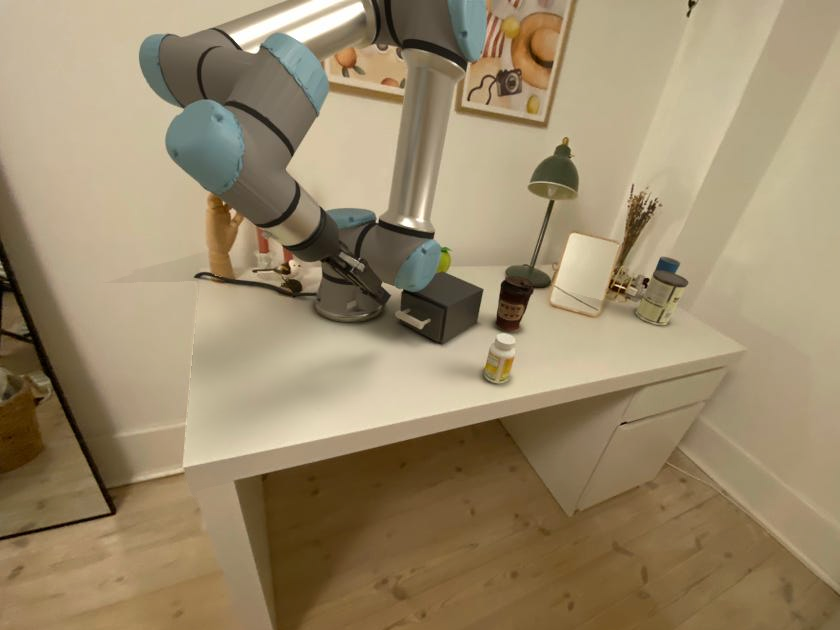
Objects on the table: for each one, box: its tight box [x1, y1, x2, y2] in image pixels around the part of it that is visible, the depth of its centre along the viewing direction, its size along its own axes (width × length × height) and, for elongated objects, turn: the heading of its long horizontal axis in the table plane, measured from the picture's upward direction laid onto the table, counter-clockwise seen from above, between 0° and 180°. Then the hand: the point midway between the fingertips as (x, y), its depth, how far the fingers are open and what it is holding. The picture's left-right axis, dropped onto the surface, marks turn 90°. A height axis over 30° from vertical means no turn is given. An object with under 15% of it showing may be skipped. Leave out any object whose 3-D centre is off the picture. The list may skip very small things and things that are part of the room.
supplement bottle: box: [483, 332, 516, 384], centre depth 77 cm, size 5×5×10 cm
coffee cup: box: [495, 275, 535, 332], centre depth 95 cm, size 9×8×13 cm
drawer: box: [394, 290, 445, 343], centre depth 89 cm, size 18×12×8 cm, turn 147°
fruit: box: [435, 246, 453, 274], centre depth 115 cm, size 9×9×10 cm
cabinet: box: [401, 271, 484, 345], centre depth 91 cm, size 15×13×10 cm
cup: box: [654, 256, 681, 274], centre depth 130 cm, size 7×7×15 cm
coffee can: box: [635, 270, 689, 326], centre depth 117 cm, size 10×10×14 cm
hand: (384, 299), depth 72 cm, fingers closed
